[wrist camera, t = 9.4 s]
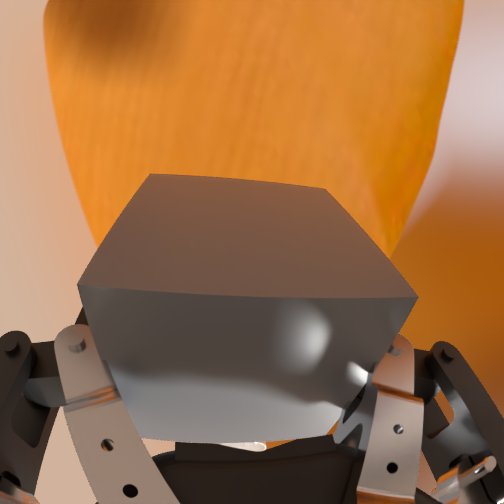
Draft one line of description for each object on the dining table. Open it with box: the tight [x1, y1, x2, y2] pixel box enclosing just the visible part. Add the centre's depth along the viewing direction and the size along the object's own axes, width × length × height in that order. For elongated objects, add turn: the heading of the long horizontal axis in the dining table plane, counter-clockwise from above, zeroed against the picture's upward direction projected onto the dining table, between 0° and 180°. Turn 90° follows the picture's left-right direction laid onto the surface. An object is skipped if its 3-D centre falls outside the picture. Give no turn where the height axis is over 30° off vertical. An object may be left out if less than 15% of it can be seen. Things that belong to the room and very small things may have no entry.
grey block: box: [77, 174, 418, 443], centre depth 9 cm, size 7×7×7 cm
